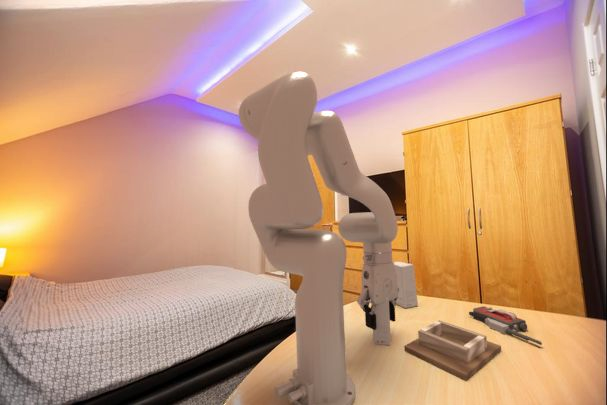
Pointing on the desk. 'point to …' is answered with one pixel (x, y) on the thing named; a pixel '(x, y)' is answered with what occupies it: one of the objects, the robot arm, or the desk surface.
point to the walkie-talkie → (502, 321)
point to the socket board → (453, 349)
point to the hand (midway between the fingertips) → (380, 323)
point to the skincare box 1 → (382, 324)
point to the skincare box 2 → (406, 285)
